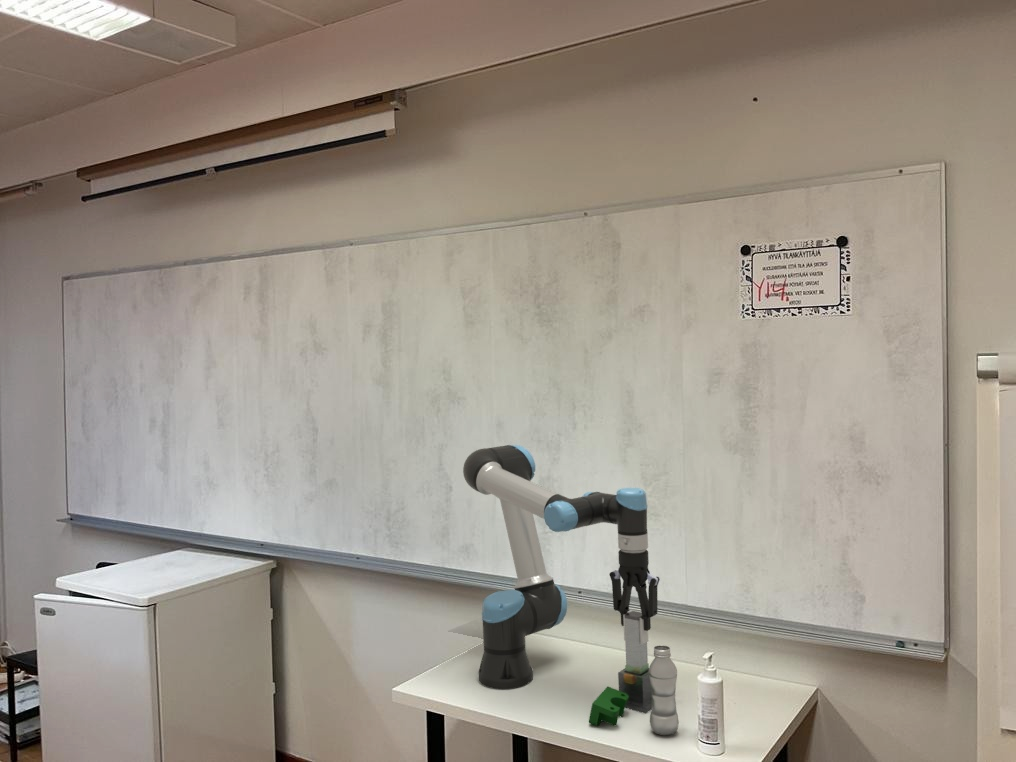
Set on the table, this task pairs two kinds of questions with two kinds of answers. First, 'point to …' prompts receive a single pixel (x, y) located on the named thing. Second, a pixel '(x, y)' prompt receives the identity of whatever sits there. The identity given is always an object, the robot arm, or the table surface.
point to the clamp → (608, 706)
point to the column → (635, 645)
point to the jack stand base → (636, 690)
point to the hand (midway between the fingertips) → (636, 640)
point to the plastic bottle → (663, 692)
